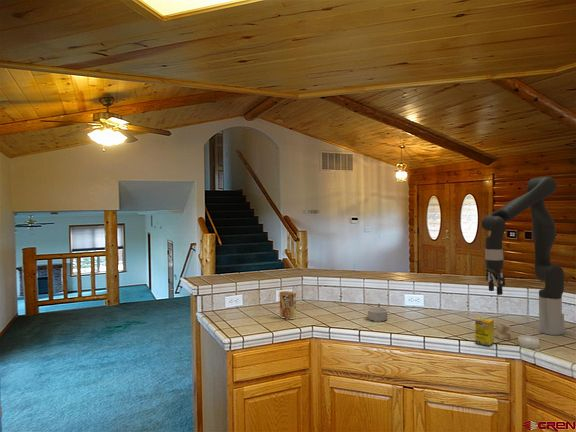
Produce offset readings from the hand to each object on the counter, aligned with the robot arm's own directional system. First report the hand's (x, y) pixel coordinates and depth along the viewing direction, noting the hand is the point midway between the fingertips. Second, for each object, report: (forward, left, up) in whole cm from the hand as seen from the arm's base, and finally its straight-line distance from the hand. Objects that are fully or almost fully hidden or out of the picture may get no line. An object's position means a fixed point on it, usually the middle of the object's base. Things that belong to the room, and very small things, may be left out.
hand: (495, 292), depth 182 cm
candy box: (+100, -31, -21) cm, 107 cm away
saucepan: (+49, -33, -21) cm, 63 cm away
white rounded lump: (-9, +12, -21) cm, 26 cm away
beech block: (-3, +2, -21) cm, 21 cm away
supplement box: (+9, +10, -21) cm, 25 cm away
